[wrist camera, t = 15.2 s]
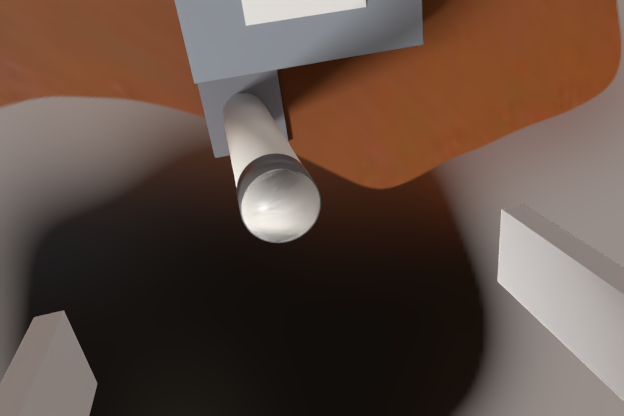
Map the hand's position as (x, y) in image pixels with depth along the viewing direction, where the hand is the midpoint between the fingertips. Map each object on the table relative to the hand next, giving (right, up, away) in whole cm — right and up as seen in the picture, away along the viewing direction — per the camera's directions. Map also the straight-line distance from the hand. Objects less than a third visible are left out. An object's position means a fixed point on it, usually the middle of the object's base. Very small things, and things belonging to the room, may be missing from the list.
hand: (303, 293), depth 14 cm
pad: (-5, +10, +22) cm, 25 cm away
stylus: (-5, +10, +22) cm, 25 cm away
